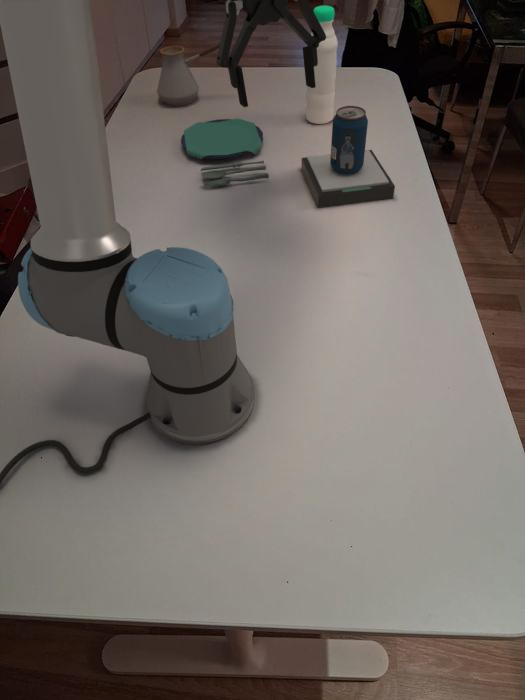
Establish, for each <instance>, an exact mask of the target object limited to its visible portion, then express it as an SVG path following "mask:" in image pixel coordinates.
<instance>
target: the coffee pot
mask: <svg viewBox="0 0 525 700" xmlns="http://www.w3.org/2000/svg"><path fill="white" fill-rule="evenodd" d="M219 46H220V41H219V42H218V43H217V44H213V45H211V46H209V47H207V48H206V49H204V50H202V51H201V52H199V53H197V54H195V55H193V56H190V57H188V58H187V59H185V58H184V53H185V48H184V47H183V46H181V45H168V46H165V47H163V48H161V49H159V53H160V55H162V59H163V60H162V61H163V62H162V66H161V69H160V70H161V71H160V75H159V80H158V85H157V88H156V89H157V90H156V93H157V95H158V97H159V98H160V99H161V100H162V101H164V102H165V103H166V104H167V105H169V106H174V107H175V106H177V107H179V106H185V105H189V104H191V103H192V102H193V101H194V99H195V98H196V97H197V95H198V94H199V90H200V87H199V84H198V83H197V81H196V79H195V77H194V75H193V74H192V71H191V70H190V67H189V65H188V64H189V63H191V62H193V61H194V60H197V59H198V58H200V57H203V56H206V55H208V54H210V53H211V54H212V53H214V52H215V51H216V50H219Z"/></svg>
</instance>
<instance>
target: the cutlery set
mask: <svg viewBox="0 0 525 700" xmlns="http://www.w3.org/2000/svg"><path fill="white" fill-rule="evenodd" d="M263 140H264V132H263V130H262V129H261V128H260V127H259V126H257V125H256V123H255V122H252V121H250V120H246V119H243V118H222V119H219V118H218V119H214V120H208V121H207V120H206V121H199V122H195V123H194V124H192V125H191V126H189V127H187V128H185V129H184V130H183V134H182V136H181V139H180V143H181V146H182V148H183V149H184V150H185V151H186V152H187V154H188V156H190V157H194V158H196V159H199V160H202V159H203V158H204V159H205V158H206V159H216V160H219V159H230V158H235V157H240V156H242V155H245V154H248V153H250V152H251V153H253V154H254V155H257V154H258V153H259V151H260V150H261V149H262V145H263V143H262V142H263ZM254 164H256V165H257V164H262V165H259V166H253V167H246V168H243V169H238V170H233V171H229V172H228V171H226V170H222V169H228V168H233V169H235V168H236V167H237V168H240V167H242V166H246V165H254ZM266 170H267V166H266V164H265V161H264V160H260V161H251V162H239V161H238V162H232V164H219V165H213V166H212V165H211V166H210V165H209V166H204V167H202V168H200V171H201V172H202V171H205V172H203V173H201V177H202V178H204V179H208V180H211V181H203V182H202V184H203V187H206V188H207V187H215V186H216V187H217V186H219V187H220V186H221V187H222V186H228V185H230V184H231V183H233V182H249V181H255V180H256V181H257V180H261V179H269V178H270V174H269V173H268V172H266V173H265V172H264V173H260V174H256V175H250V176H243V177H233V178H230V177H229V175H233V174H234V175H235V174H240V173H246V172H255V171H266ZM225 176H228V177H225Z"/></svg>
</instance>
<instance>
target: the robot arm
mask: <svg viewBox="0 0 525 700" xmlns="http://www.w3.org/2000/svg"><path fill="white" fill-rule="evenodd" d="M294 1H295V4H296V6H297V7H298V9H299V11H300V13H301V15H302V17H303V18H304V20H305V23H306V24H307V26H308V28H309V30H310V31H311V33H313V36H312V35H311V33H310V32H309V31H308V30H307V29H306V28H305V27H304V25H302V23H301V22H300V21H299V20H298V19H297V18H296V17H295V16H294V14H293V13H292V12H291V11H290V10H289V8H288V7H287V4H288V2H289V0H225V1H224V13H225V17H224V22H223V27H222V32H221V36H220V41H219V42H220V46H219V48H218V49H217V55H216V59H215V61H216V64H217V65H218V67H219V66H220V67H221V68H223V69H224V68H226V69H227V70H228V74H229V80H230V86H231V87H232V88H234V89H236V90H237V97H238V101H239V105H240V106H242V107H243V108H248V107H249V103H248V96H247V91H246V90H247V89H246V85H245V79H244V78H245V77H244V73H243V67H241V66H240V65H239V63H240V61H241V59H242V57H243V55H244V53H245V50H246V48H247V46H248V44H249V42H250V39H251V37H252V35H253V33H254V31H255V30H256V29H257V27H258V25H259V26H265V25H267V24H269V23H277V22H278V23H279V21H280V20H282V21H283V22H284V23H285V24H286V25H287V26H288V27H289V28H291V30H292V31H293V32H294V33H295V34H296V35H297V37H298V38H299V39H301V40H302V42H304V44H305V45H306V46H303V47H302V57H303V67H304V77H305V86H306V87H307V86H309V87H311V88H315V87H316V86H315V74H314V66H317V64H318V58H317V48H318V46H319V43H320V42H321V41H324V40H325V39H326V34H325V32H324V31H323V29H322V27H321V25H320V23H319V21H318V19H317V17H316V15H315V13H314V12H313V11H314V9H313V8H312V6H311V4H310V2H309V0H294ZM241 10H243V11H244V12H245V14H246V16H245V18H244V20H243V23H242V27H241V29H240V31H239V34H238V36H237V38H236V40H235V43H234V44H233V47H232V43H233V38H234V33H235V31H236V30H235V29H236V25H237V17H238V16H239V15H240V12H241ZM0 29H1V35H2V40H3V44H4V49H5V55H6V59H7V65H8V69H9V70H8V71H9V74H10V79H11V80H10V81H11V85H12V90H13V95H14V101H15V105H16V110H17V115H18V119H19V124H20V131H21V135H22V139H23V145H24V150H25V155H26V160H27V165H28V170H29V175H30V179H31V185H32V189H33V195H34V200H35V204H36V210H37V215H38V221H39V225H40V228H38V230H37V231H36V232H35V233H34V234H33V235H32V237H31V238H30V247H29V249H28V250H27V251H26V253H24V256H23V258H22V260H21V263H20V265H21V266H22V268H23V269H22V271H19V272H18V275H17V288H18V293H19V297H20V301H21V303H22V306H23V307H24V309H25V312H26V313H27V314H28V315H29V317H30V318H31V319H33V321H35V322H36V323H37V324H39V325H40V326H42V327H44V328H47V329H49V330H52V331H54V332H56V333H57V334H60V335H64V336H66V337H71V338H78V339H79V338H80V339H82V340H85V341H89V342H93V343H97V344H100V345H103V346H107V347H111V348H113V349H118V350H121V351H126V352H129V353H132V354H136V355H139V356H143V357H144V358H145V359H146V362H147V365H148V367H149V371H150V372H149V378H148V383H147V390H146V394H145V395H146V396H145V405H146V409H147V412H146V413H144V414H143V415H141V416H139V417H138V418H136V419H134V420H132V421H130V422H129V423H127V424H125V425H123V426H121V427H118V428H117V429H115V430H114V431H113V432H112V433H111V434H110V435H109V436H107V438H106V440H105V442H104V444H103V446H102V449H101V453H100V456H99V459H98V461H97V462H96V463H95V464H94V465H91V466H82V465H80V464H79V463H78V462H77V461H76V460H75V458H74V457H73V455H72V453H71V452H70V450H69V449H68V448H67V447H66V446H65V444H64V443H62V442H61V441H59V440H56V439H47V440H42V441H38V442H36V443H32V444H31V445H29V446H27V447H25V448H23V449H22V450H21V451H19V452H18V453H17V454H16V455H15V456H14V457H12V458H11V460H10V461H9V462H8V463H7V464H6V465H5V466H4V468H3V469H2V470H1V471H0V485H1V484H2V482H3V481H4V480H5V478H6V477H7V476H8V474H9V473H10V472H11V471H12V469H13V468H14V467H15V466H16V465H17V464H18V463H19V462H20V461H21V460H22V459H23V458H25V457H26V456H27V455H29V454H31V453H32V452H34V451H37V450H39V449H41V448H46V447H54V448H57V449H58V450H60V452H61V453H62V454H63V456H64V458H65V459H66V461H67V462H68V464H69V465H70V467H71V468H72V469H73V470H74V471H75V472H78V473H79V474H83V475H88V474H93V473H95V472H97V471H99V470H100V469H101V468H102V467H103V466H104V464H105V462H106V460H107V457H108V454H109V450H110V447H111V445H112V443H113V442H114V441H115V439H116V438H118V437H119V436H120V435H122V434H124V433H126V432H128V431H130V430H132V429H134V428H135V427H137V426H140V425H141V424H142V423H144V422H146V421H147V420H151V422H152V424H153V426H154V427H155V428H156V429H157V431H159V433H161V434H162V435H163V436H165V437H166V438H168V439H170V440H172V441H173V442H178V443H181V444H186V445H205V444H210V443H215V442H218V441H221V440H223V439H225V438H227V437H229V436H230V435H233V434H234V433H235V432H236V431H238V430H239V429H240V428H241V427H243V425H244V424H245V423H246V421H247V420H248V418H249V416H251V414H252V411H253V408H254V405H255V404H254V403H255V389H254V383H253V382H254V381H253V379H252V376H251V374H250V373H249V370H248V369H247V368H246V366H245V364H244V363H243V361H242V360H241V358H240V357H239V355H238V350H237V339H236V329H235V328H236V327H235V318H234V310H235V309H234V299H233V295H232V294H231V290H230V285H229V281H228V278H227V276H226V274H225V272H224V271H223V269H222V267H221V266H220V265H219V264H218V263H217V262H216V261H215V260H214V259H213V258H212V257H210V256H208V255H206V254H204V253H203V252H200V251H198V250H194V249H192V248H191V249H190V248H186V247H179V246H178V247H175V246H174V247H173V246H171V247H170V246H169V247H167V248H166V250H161V249H160V248H156V249H153V250H151V251H148V252H145V253H144V254H142V255H140V256H139V257H135V256H134V254H133V247H132V237H131V234H130V231H129V230H128V229H127V228H125V227H124V226H123V225H122V224H120V223H119V222H118V221H117V217H116V210H115V199H114V191H113V183H112V182H113V181H112V174H111V173H112V172H111V165H110V157H109V156H110V155H109V148H108V142H107V141H108V140H107V131H106V124H105V123H106V122H105V121H106V120H105V113H104V103H103V96H102V86H101V78H100V69H99V61H98V53H97V52H98V51H97V43H96V35H95V26H94V17H93V8H92V0H0Z"/></svg>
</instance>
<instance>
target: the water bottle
mask: <svg viewBox="0 0 525 700" xmlns="http://www.w3.org/2000/svg"><path fill="white" fill-rule="evenodd" d="M313 12H314V13H315V15H316V17H317V19H318V21H319V23H320V25H321V27H322V29H323V31H324V32H325V34H326V39H325V40H324V41H321V42H320V43H319V46H318V48H317V58H318V64H317V66H314V74H315V86H316V87H315V88H311V87H309V86H307V85H306V88H307V89H306V108H305V118H306V120H307V121H308V122H309V123H312V124H315V125H324V124H327V123H330V122H331V121H333V119H334V117H335V106H334V104H335V99H336V98H335V97H336V95H335V88H336V87H335V86H336V79H337V63H338V62H337V60H338V59H337V58H338V55H337V54H338V53H337V50H338V46H339V42H338V38H337V36H336V33H335V32H336V31H335V29H334V27H333V22H334V21H335V20H334V19H335V15H336V14H335V13H336V12H335V8H334V7H333V6H330V5H318V6H316V7H314V9H313ZM310 34H311V35H312V36H313V33H312V32H311V33H310Z"/></svg>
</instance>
